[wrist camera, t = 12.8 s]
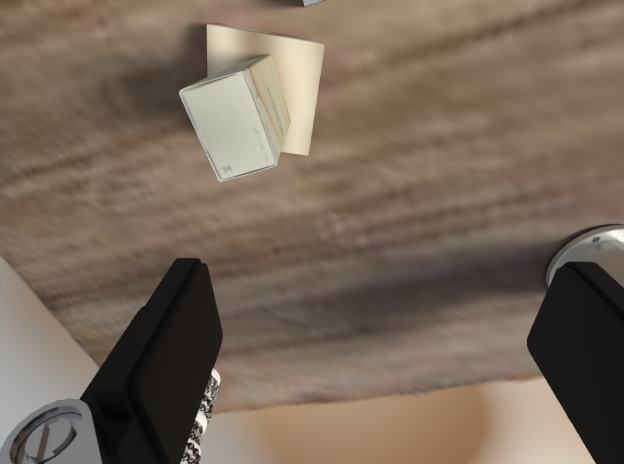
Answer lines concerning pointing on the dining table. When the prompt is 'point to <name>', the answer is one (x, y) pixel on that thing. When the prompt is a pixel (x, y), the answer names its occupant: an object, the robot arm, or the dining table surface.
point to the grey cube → (311, 2)
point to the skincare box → (239, 117)
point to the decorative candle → (201, 421)
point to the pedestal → (289, 66)
